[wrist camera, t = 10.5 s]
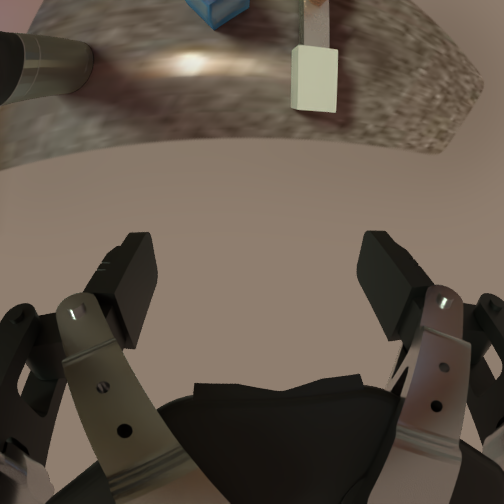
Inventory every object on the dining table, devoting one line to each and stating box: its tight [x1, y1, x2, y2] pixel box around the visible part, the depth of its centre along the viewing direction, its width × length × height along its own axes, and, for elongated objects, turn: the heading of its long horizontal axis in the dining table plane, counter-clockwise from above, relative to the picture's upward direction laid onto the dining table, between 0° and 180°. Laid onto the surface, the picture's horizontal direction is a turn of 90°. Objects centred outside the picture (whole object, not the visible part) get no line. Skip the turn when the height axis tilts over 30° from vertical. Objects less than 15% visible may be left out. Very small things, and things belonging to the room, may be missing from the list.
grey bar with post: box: [299, 0, 329, 48], centre depth 24 cm, size 3×16×13 cm, turn 0°
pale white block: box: [291, 45, 338, 113], centre depth 33 cm, size 5×9×5 cm, turn 0°
